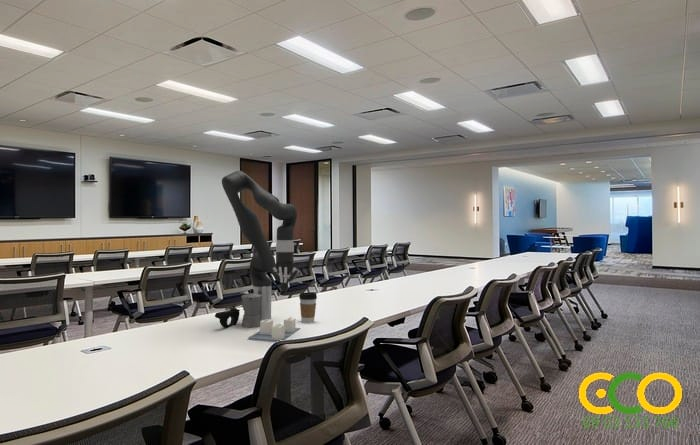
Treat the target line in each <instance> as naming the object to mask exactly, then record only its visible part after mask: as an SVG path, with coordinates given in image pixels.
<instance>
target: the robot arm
mask: <svg viewBox="0 0 700 445" xmlns="http://www.w3.org/2000/svg"><path fill="white" fill-rule="evenodd" d="M221 185H222V188H223V191H224V193H225V195H226V197H227V199H228V201H229V203H230V205H231V207H232V210H233V212H234V214H235V217H236V220H237V223H238V225H239V228H240V231H241V233H242V235H243V236H244V238H246V240H247V242H249V243H250V245H252V246H253V248H254V249H255V251H256V253H254V254H253V255H252V256H251V258H250V279H251V283H252V288H251V289H254V292H255V294H260V295H262V302H261V308H260V310H259V314H260V319H261V321H263V320H266V319H269V320H271V319H272V283H273V282H272V279H271V278H270V277H268V276H267V274H266V273H271V275H272V276H273V277H274V279H275V280H276V281H277V282H280V291H281V292H284V293H285V292H287V291H288V290H289V282H292V281H293V280H294V279H295V278H296V276H298V274H299V273H300V270H299V269H297V268H296V267H295V264H294V263H295V262H294V259H295V246H294V229H295V226H296V222H297V218H298V210H297V208H296V206H295V205H294V204H291V203H282V202H280V199H279V198H278V197H277V196H276V195H274V194H272V193H270V192H268V191H267V190H266V189H264V188H263V187H261V186H260V185H259V184H258V183H257V182H256V181H255V180H253V178H251V177H250V176H249V175H248V174H247V173H245V172H244V171H242V170H236V171H234V172H231V173H229V174H227V175H225V176H224V177H222V178H221ZM245 190H248V191H250V192H251V194H252V197H253V200H254V202H255V203H256V204H257V205H258V206H259V207H261V208H263V209H265V210H266V211H268V213H269V214H270V215H271V216H272V217H273V218H275V219H276V220H278V221H282V224H281V225H280V226H278V227H277V228H276V243H275V257H274V254H273V251H272V250H271V248H270V246H269V244H268V242H267V241H268V240H267V239H266V236H265V233H264V232H263V229H262V226H261V223H260V219H259V217H258V216H257V214H256V213H255V212H254V210H252V209H251V208H249V207H248V206H247V205H245V204H244V203H243V202H242V200H241V198H240V196H239V193H241V192H243V191H245ZM291 273H292V274H291ZM290 274H291V275H290Z"/></svg>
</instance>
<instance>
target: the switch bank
mask: <svg viewBox="0 0 700 445" xmlns="http://www.w3.org/2000/svg"><path fill="white" fill-rule="evenodd" d="M299 330H301V328H300V327H296V328H295V331H285V337H284V338H283V339H273V338H272V333H270V334H266V333H260V331H257V332H255V333H254V334H252V335H250V336H249V337H248V338H247V339H246V341H256V342H267V343H278V342H277V341H280V340H284V341H285V340H286V339H288V338H289V337H291V336H292V335H294V334H295V333H297V332H298V331H299Z"/></svg>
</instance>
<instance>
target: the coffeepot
mask: <svg viewBox="0 0 700 445" xmlns="http://www.w3.org/2000/svg"><path fill="white" fill-rule="evenodd" d="M249 291H250V293H246V294H243V295H241V303H242V309H243V315H242V320H241V327H242V328H244V329H257V328H260V322H261V319H260V314H259V310H260V308H261V302H262V295H260V294H255V292H254V289H252V288H251V289H250V290H249Z"/></svg>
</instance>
